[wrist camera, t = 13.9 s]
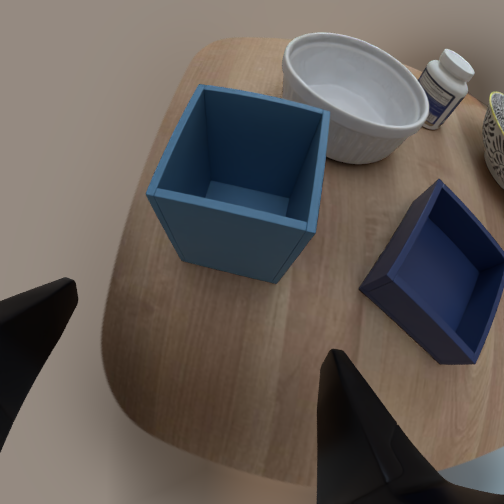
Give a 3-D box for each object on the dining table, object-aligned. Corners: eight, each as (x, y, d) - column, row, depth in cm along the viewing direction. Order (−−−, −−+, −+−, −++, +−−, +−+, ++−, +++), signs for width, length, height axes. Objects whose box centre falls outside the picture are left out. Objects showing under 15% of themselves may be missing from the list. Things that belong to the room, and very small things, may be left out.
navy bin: (440, 364, 20) (475, 364, 15) (358, 288, 21) (386, 275, 17) (480, 273, 22) (511, 260, 18) (412, 201, 24) (439, 178, 20)
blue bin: (276, 284, 21) (315, 233, 11) (181, 260, 21) (145, 194, 11) (293, 198, 23) (330, 111, 13) (208, 178, 23) (198, 83, 13)
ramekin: (374, 87, 29) (395, 45, 22) (414, 179, 25) (454, 139, 18) (265, 77, 27) (272, 25, 21) (284, 177, 23) (303, 121, 17)
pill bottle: (425, 100, 29) (459, 50, 20) (445, 132, 28) (487, 83, 19) (396, 96, 29) (429, 39, 19) (417, 130, 27) (459, 73, 18)
